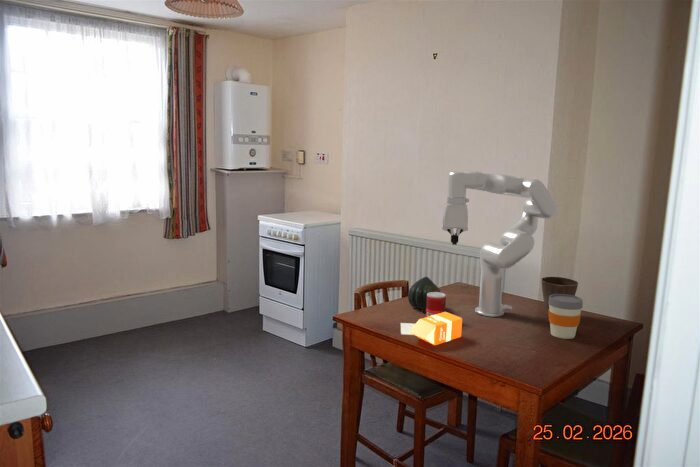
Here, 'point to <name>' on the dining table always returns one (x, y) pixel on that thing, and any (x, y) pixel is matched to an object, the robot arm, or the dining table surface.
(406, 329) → the mat
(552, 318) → the reusable coffee cup
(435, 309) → the canned food
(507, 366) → the dining table surface
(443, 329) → the orange juice
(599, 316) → the dining table surface
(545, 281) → the plant pot
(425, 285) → the squash
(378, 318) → the dining table surface
